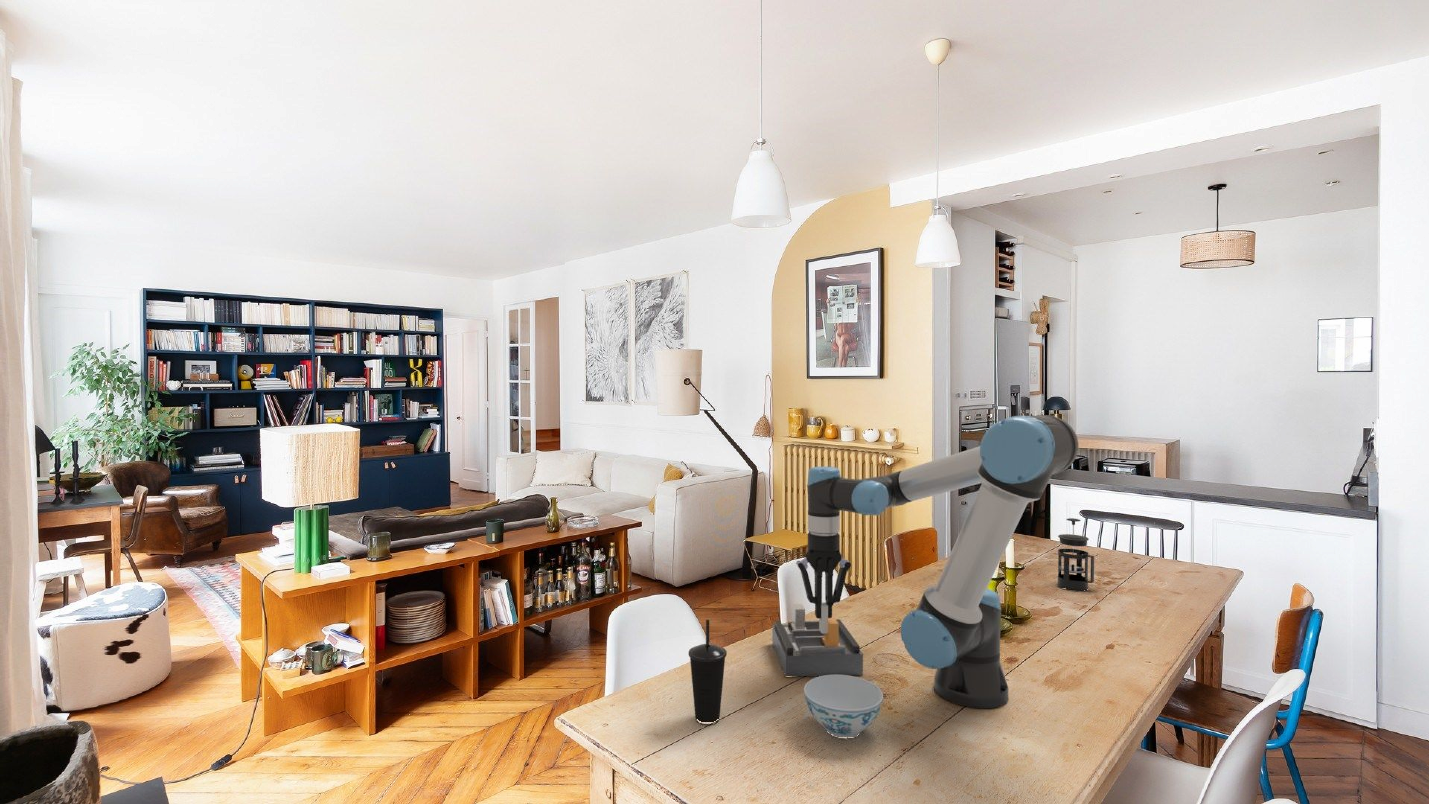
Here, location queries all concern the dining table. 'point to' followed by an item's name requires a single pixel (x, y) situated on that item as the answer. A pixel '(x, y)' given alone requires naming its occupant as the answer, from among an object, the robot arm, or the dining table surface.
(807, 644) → the grey compartment box
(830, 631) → the switch
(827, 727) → the chinaware
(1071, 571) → the french press
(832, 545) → the robot arm
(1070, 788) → the dining table surface
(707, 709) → the drinking cup
